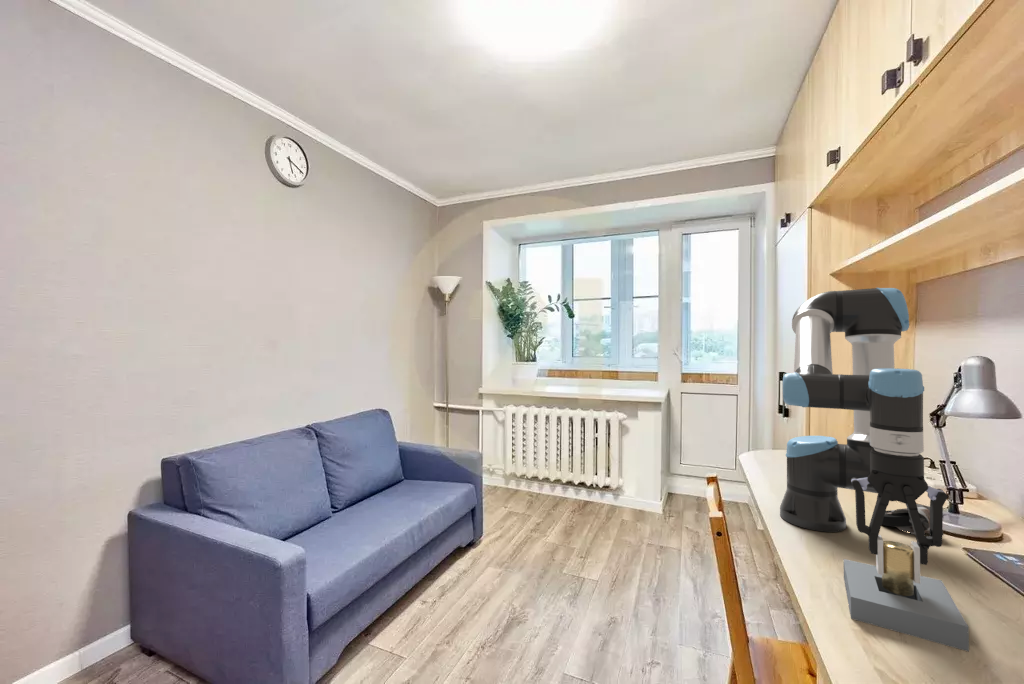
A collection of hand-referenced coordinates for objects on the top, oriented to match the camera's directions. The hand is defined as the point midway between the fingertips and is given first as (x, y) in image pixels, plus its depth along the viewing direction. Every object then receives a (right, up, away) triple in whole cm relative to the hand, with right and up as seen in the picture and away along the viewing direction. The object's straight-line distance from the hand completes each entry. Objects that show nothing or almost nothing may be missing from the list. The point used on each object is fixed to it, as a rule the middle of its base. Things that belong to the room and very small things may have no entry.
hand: (897, 575), depth 80 cm
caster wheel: (+32, -6, +34) cm, 47 cm away
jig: (0, -6, 0) cm, 6 cm away
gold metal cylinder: (0, -3, 0) cm, 3 cm away
